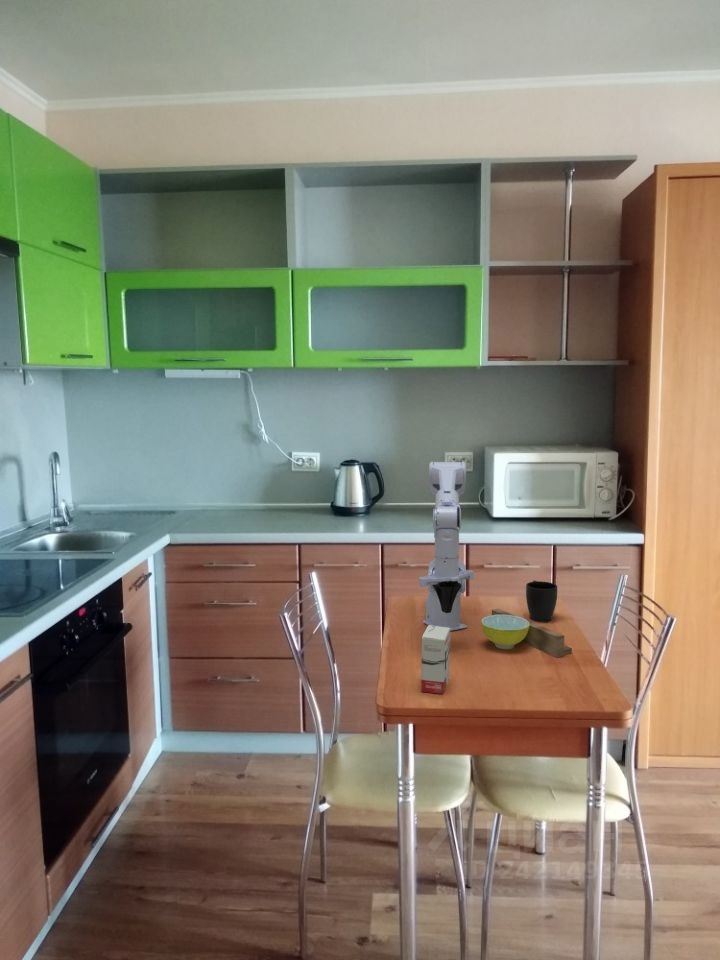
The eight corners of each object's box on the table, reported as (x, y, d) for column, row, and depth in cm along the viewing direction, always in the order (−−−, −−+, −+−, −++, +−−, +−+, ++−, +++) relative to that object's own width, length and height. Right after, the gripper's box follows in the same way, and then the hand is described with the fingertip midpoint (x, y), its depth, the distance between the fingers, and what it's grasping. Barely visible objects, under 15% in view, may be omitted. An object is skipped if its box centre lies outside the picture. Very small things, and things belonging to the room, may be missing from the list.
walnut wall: (491, 628, 183) (491, 609, 182) (506, 625, 185) (506, 606, 185) (557, 657, 162) (557, 636, 161) (573, 653, 164) (573, 633, 164)
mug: (549, 610, 198) (550, 577, 197) (559, 624, 186) (560, 589, 185) (520, 610, 198) (521, 577, 197) (528, 623, 186) (529, 589, 185)
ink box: (444, 694, 142) (444, 639, 141) (420, 692, 144) (420, 637, 142) (450, 678, 150) (450, 625, 149) (427, 676, 152) (427, 624, 150)
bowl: (520, 658, 162) (520, 632, 161) (474, 649, 168) (474, 624, 167) (535, 643, 172) (535, 619, 171) (490, 635, 177) (491, 611, 177)
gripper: (430, 563, 158) (430, 621, 160) (481, 556, 165) (481, 611, 166) (413, 557, 164) (413, 613, 166) (463, 550, 171) (463, 604, 173)
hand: (446, 611), depth 166 cm, fingers closed
